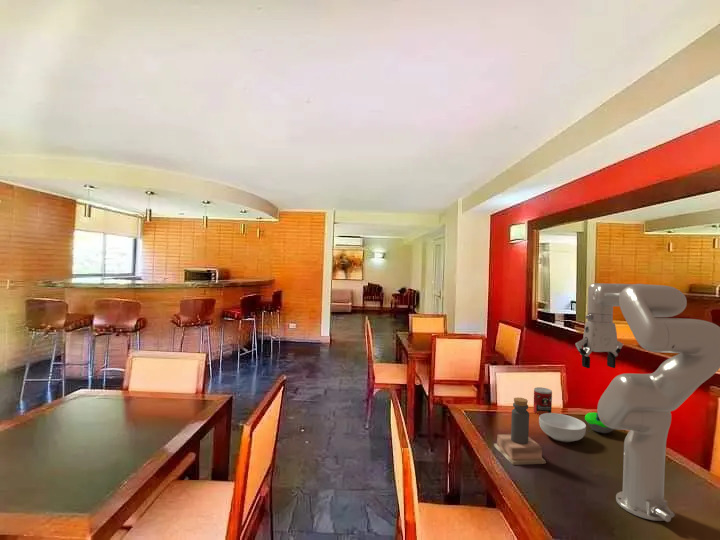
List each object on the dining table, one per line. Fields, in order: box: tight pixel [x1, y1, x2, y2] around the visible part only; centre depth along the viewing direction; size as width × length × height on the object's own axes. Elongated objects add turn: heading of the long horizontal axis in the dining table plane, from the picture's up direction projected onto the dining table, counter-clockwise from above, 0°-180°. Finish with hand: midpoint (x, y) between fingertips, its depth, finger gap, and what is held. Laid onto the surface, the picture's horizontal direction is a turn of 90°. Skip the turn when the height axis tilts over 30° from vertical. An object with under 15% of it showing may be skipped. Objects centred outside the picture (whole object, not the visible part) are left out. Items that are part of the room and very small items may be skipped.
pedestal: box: [493, 433, 547, 466], centre depth 142 cm, size 14×12×5 cm
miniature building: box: [584, 411, 615, 434], centre depth 164 cm, size 12×12×11 cm
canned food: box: [533, 386, 553, 416], centre depth 184 cm, size 8×8×11 cm
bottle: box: [510, 397, 530, 444], centre depth 142 cm, size 6×6×15 cm
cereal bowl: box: [538, 412, 587, 443], centre depth 157 cm, size 17×17×7 cm
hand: (598, 367), depth 138 cm, fingers open, 9 cm apart
